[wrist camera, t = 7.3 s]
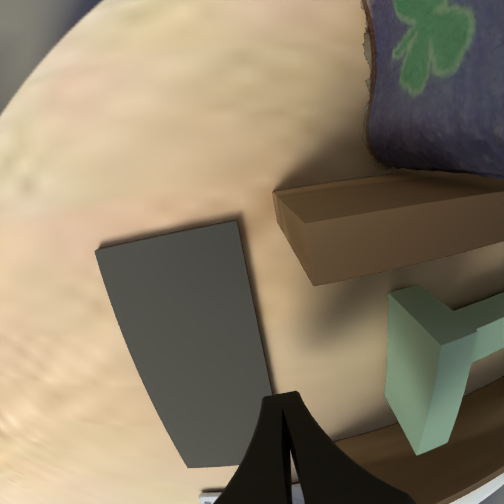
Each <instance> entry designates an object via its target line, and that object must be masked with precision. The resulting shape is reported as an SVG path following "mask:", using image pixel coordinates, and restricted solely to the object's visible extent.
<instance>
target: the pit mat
mask: <svg viewBox="0 0 504 504" xmlns="http://www.w3.org/2000/svg"><path fill="white" fill-rule="evenodd" d="M95 255H96V258H97V261H98V265H99V268H100V271H101V275H102V278H103V281H104V284H105V287H106V290H107V293H108V296H109V299H110V302H111V305H112V307H113V310H114V313H115V316H116V318H117V321H118V324H119V326H120V329H121V332H122V334H123V337H124V339H125V342H126V344H127V347H128V349H129V352H130V354H131V356H132V359H133V361H134V364H135V366H136V368H137V370H138V373H139V375H140V377H141V379H142V382H143V384H144V386H145V388H146V390H147V392H148V395H149V397H150V399H151V401H152V403H153V405H154V407H155V409H156V411H157V413H158V415H159V417H160V419H161V421H162V423H163V425H164V427H165V428H166V430H167V432H168V434H169V436H170V438H171V440H172V441H173V443H174V445H175V447H176V449H177V450H178V452H179V454H180V456H181V457H182V459H183V461H184V462H185V464H186V466H187V467H188V468H204V467H222V466H234V465H240V463H241V461H242V460H243V458H244V456H245V453H246V451H247V449H248V446H249V444H250V442H251V439H252V437H253V434H254V431H255V428H256V425H257V422H258V418H259V414H260V410H261V404H262V398H263V397H264V396H270V395H272V390H271V386H270V381H269V376H268V371H267V366H266V362H265V357H264V352H263V347H262V342H261V337H260V332H259V328H258V323H257V318H256V313H255V308H254V303H253V298H252V293H251V288H250V283H249V278H248V274H247V269H246V264H245V259H244V254H243V249H242V244H241V239H240V234H239V229H238V223H237V220H233V221H228V222H223V223H218V224H213V225H208V226H203V227H198V228H193V229H188V230H183V231H178V232H173V233H168V234H164V235H159V236H154V237H149V238H145V239H140V240H136V241H131V242H126V243H122V244H117V245H113V246H109V247H104V248H100V249H97V250H95Z"/></svg>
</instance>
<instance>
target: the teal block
mask: <svg viewBox="0 0 504 504" xmlns="http://www.w3.org/2000/svg"><path fill="white" fill-rule="evenodd" d="M502 348H504V292H503V293H500V294H498V295H495V296H493V297H490V298H487V299H485V300H482V301H480V302H477V303H474V304H471V305H469V306H466V307H463V308H460V309H457V310H454V311H453V310H451V309H450V308H449V307H448V306H446V305H445V304H444V303H443V302H441V301H440V300H439V299H438V298H436V297H435V296H434V295H433V294H431V293H430V292H429V291H427V290H426V289H425V288H423V287H422V286H421V285H420V284H419V285H416V286H412V287H408V288H404V289H400V290H396V291H392V292H388V345H387V366H386V382H385V394H384V396H385V398H386V400H387V401H388V403H389V405H390V407H391V409H392V410H393V412H394V414H395V416H396V418H397V420H398V422H399V423H400V425H401V427H402V429H403V431H404V433H405V435H406V437H407V438H408V440H409V442H410V444H411V446H412V448H413V450H414V452H415V454H416V456H417V455H420V454H422V453H425V452H427V451H429V450H432V449H434V448H436V447H439V446H441V445H443V444H445V443H448V440H449V437H450V434H451V432H452V429H453V426H454V423H455V420H456V417H457V414H458V411H459V408H460V404H461V401H462V398H463V394H464V391H465V387H466V383H467V379H468V376H469V371H470V367H471V363H473V362H475V361H477V360H479V359H482V358H484V357H486V356H488V355H490V354H492V353H494V352H496V351H498V350H500V349H502Z"/></svg>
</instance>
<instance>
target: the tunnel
mask: <svg viewBox="0 0 504 504" xmlns="http://www.w3.org/2000/svg"><path fill="white" fill-rule="evenodd" d="M272 194H273V200H274V205H275V211H276V217H277V223H278V224H279V226H280V228H281V230H282V231H283V233H284V235H285V237H286V238H287V240H288V242H289V244H290V245H291V247H292V249H293V251H294V253H295V254H296V256H297V258H298V260H299V261H300V263H301V265H302V267H303V269H304V270H305V272H306V274H307V276H308V278H309V279H310V281H311V283H312V285H313V286H318V285H323V284H328V283H333V282H337V281H342V280H347V279H351V278H356V277H361V276H365V275H370V274H374V273H379V272H383V271H388V270H392V269H396V268H401V267H405V266H409V265H413V264H417V263H422V262H426V261H430V260H434V259H438V258H442V257H446V256H450V255H454V254H458V253H461V252H465V251H469V250H473V249H477V248H480V247H484V246H488V245H491V244H495V243H499V242H502V241H504V180H501V179H496V178H489V177H481V176H479V175H475V174H467V173H449V172H443V171H437V170H436V171H429V170H421V171H412V172H404V173H395V174H387V175H379V176H372V177H364V178H357V179H350V180H343V181H336V182H330V183H323V184H317V185H310V186H304V187H298V188H292V189H286V190H280V191H275V192H272ZM334 443H335V444H336V445H337V446H338V447H339V448H340V449H341V450H342V451H343V452H344V453H345V454H346V455H348V456H349V457H350V458H351V459H352V460H354V461H355V462H356V463H357V464H359V465H360V466H361V467H363V468H364V469H366V470H367V471H369V472H370V473H371V474H373V475H374V476H376V477H377V478H379V479H381V480H383V481H384V482H386V483H388V484H390V485H392V486H394V487H395V488H397V489H400V490H402V491H404V492H406V493H408V494H409V495H410V496H411V497H412V499H413V500H414V501H415V502H416V504H449V503H451V502H453V501H455V500H457V499H459V498H461V497H463V496H465V495H467V494H468V493H470V492H472V491H474V490H476V489H477V488H479V487H481V486H483V485H484V484H486V483H488V482H489V481H491V480H493V479H494V478H496V477H497V476H499V475H501V474H502V473H504V376H503V377H502V378H500V379H498V380H496V381H494V382H492V383H490V384H489V385H487V386H485V387H483V388H481V389H479V390H477V391H475V392H473V393H471V394H469V395H466V396H464V397H463V398H462V401H461V404H460V408H459V411H458V414H457V417H456V420H455V423H454V426H453V429H452V432H451V434H450V437H449V440H448V443H445V444H443V445H441V446H439V447H436V448H434V449H432V450H429V451H427V452H425V453H422V454H420V455H417V456H416V454H415V452H414V450H413V448H412V446H411V444H410V442H409V440H408V438H407V437H406V435H405V433H404V431H403V429H402V427H401V425H400V423H397V424H394V425H391V426H388V427H385V428H382V429H379V430H375V431H372V432H369V433H365V434H362V435H358V436H355V437H351V438H347V439H343V440H339V441H335V442H334Z"/></svg>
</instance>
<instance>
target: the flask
mask: <svg viewBox="0 0 504 504" xmlns="http://www.w3.org/2000/svg"><path fill="white" fill-rule="evenodd" d="M361 8H362V9H365V14H366V25H367V27H366V28H365V29H366V33H364V39H365V41H364V44H362V45H363V46H364V49H365V52H364V55H365V57H366V59H365V60H368V64H369V66H370V69H371V75H370V78H369V79H368V80H366V81H365V82H366V83H367V87H368V89H369V92H370V100H369V102H368V104H367V107H365V108H364V109H365V110H366V116H365V117H366V118H365V122H364V134H363V140H364V143H365V145H366V147H367V149H368V150H369V151H370V154H371V155H372V156H373V157H374V161H375V164H377V163H379V162H380V163H383V164H385V165H387V166H389V167H394V168H397V169H400V168H406V169H413V170H429V171H436V170H437V171H443V172H449V173H467V174H475V175H479V176H481V177H489V178H496V179H501V180H504V0H361Z"/></svg>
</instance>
